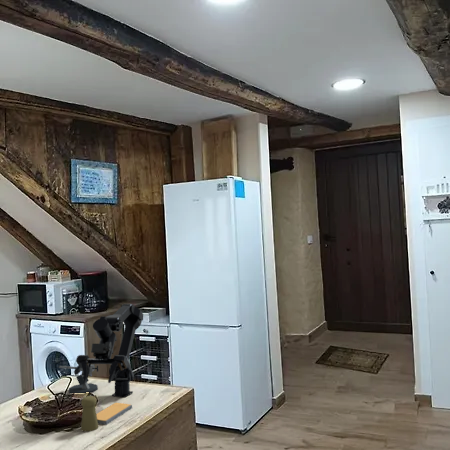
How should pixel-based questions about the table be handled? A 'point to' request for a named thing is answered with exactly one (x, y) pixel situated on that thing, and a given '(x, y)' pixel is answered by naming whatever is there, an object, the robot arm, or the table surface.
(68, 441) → the table surface
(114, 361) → the robot arm
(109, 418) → the floor panel
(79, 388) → the gun turret
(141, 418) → the table surface
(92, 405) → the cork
